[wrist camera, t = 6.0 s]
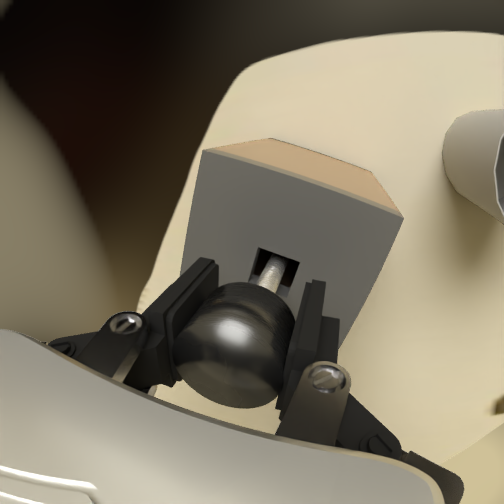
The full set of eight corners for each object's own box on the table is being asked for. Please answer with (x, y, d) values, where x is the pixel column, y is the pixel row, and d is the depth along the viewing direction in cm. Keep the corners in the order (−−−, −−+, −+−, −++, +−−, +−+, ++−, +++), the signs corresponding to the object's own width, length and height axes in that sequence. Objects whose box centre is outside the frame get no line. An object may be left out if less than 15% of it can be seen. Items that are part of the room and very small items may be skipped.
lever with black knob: (324, 259, 24) (287, 447, 9) (254, 234, 25) (136, 386, 10) (350, 190, 21) (369, 332, 7) (274, 163, 22) (139, 246, 7)
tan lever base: (325, 288, 29) (307, 399, 17) (238, 257, 30) (170, 346, 18) (371, 171, 24) (404, 218, 11) (271, 138, 25) (202, 149, 13)
